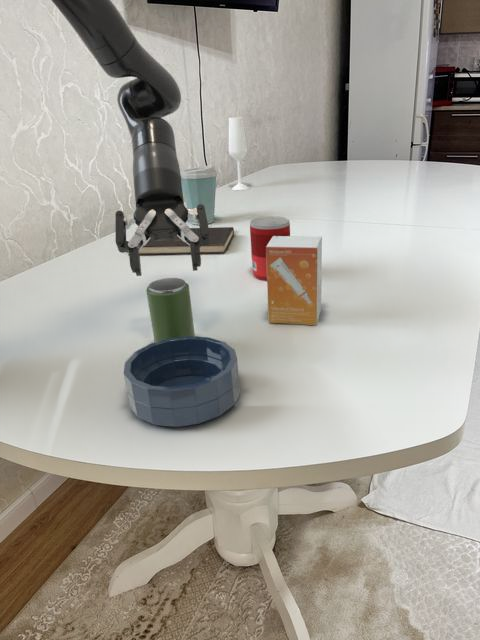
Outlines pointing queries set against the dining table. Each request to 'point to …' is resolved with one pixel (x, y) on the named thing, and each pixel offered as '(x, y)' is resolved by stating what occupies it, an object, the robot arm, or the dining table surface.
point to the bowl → (182, 380)
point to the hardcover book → (176, 246)
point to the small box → (294, 279)
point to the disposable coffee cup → (200, 189)
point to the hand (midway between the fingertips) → (167, 271)
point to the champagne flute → (237, 146)
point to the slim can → (170, 309)
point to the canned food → (265, 240)
